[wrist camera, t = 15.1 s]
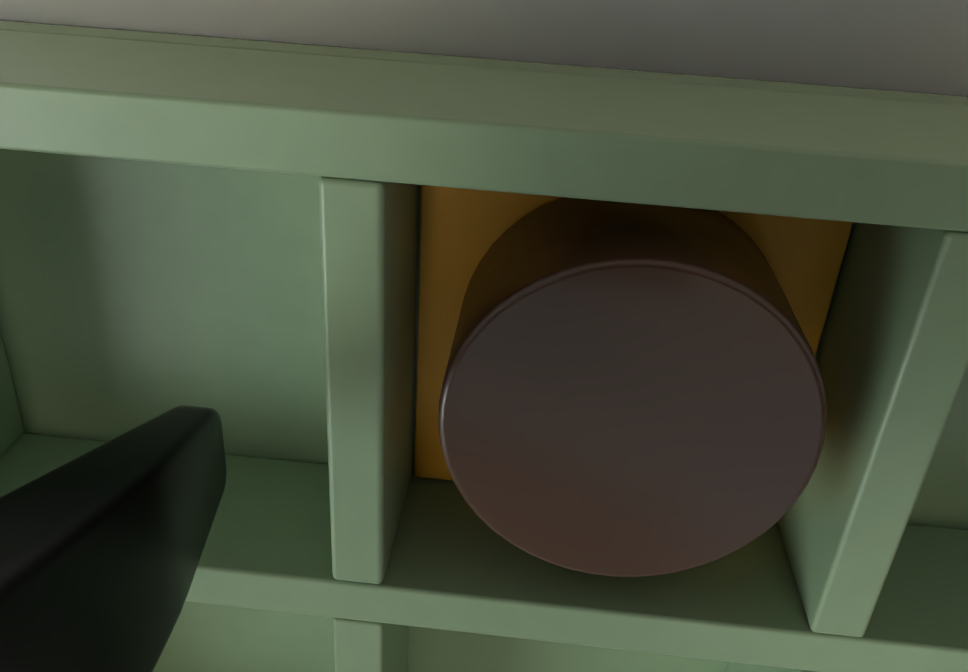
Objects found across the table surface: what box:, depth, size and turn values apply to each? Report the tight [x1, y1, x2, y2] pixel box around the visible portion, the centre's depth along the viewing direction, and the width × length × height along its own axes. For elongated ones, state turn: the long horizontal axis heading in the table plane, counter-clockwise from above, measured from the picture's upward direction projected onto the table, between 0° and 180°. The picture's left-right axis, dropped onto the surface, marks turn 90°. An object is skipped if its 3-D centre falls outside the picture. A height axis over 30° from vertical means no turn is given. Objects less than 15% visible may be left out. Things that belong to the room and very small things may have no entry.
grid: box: [0, 21, 968, 672], centre depth 13 cm, size 13×20×3 cm
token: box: [438, 197, 827, 577], centre depth 11 cm, size 4×4×2 cm
